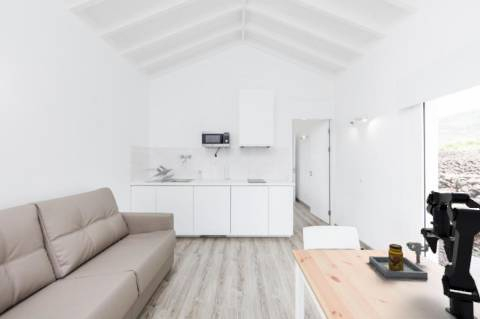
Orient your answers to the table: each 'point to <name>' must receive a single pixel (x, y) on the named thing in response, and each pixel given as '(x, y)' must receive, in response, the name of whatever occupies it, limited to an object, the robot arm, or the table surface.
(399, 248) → the condiment
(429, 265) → the table surface
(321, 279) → the table surface
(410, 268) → the tray
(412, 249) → the mechanical component
